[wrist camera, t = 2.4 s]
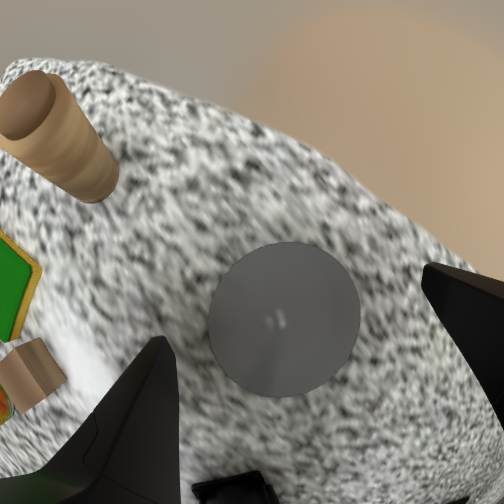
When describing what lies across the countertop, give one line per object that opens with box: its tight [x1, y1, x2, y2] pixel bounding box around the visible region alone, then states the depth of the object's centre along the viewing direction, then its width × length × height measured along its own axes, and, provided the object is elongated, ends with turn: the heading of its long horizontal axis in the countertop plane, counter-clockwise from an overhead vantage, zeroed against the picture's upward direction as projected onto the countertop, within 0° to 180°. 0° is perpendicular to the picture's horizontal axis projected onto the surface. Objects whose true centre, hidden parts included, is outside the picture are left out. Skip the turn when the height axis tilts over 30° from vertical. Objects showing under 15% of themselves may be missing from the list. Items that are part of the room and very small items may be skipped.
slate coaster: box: [208, 242, 360, 397], centre depth 20 cm, size 12×12×1 cm
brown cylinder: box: [0, 70, 119, 204], centre depth 13 cm, size 4×4×12 cm
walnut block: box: [0, 337, 68, 414], centre depth 14 cm, size 4×4×4 cm
